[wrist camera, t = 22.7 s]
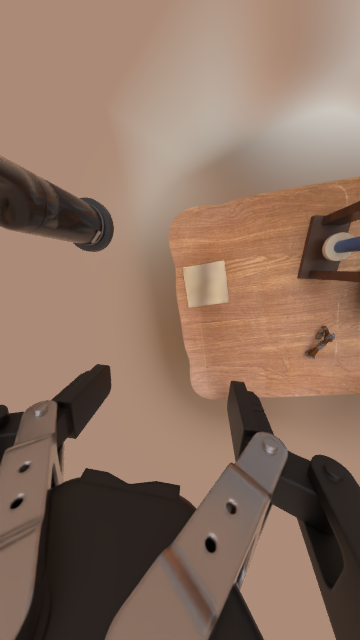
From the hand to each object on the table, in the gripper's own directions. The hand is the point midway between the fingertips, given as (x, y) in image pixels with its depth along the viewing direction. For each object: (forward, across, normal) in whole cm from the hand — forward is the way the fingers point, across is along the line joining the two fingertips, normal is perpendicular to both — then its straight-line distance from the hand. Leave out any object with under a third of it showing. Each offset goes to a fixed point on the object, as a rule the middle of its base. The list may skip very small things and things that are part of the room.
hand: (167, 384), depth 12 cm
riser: (+36, -2, -4) cm, 36 cm away
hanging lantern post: (+35, -30, +9) cm, 47 cm away
